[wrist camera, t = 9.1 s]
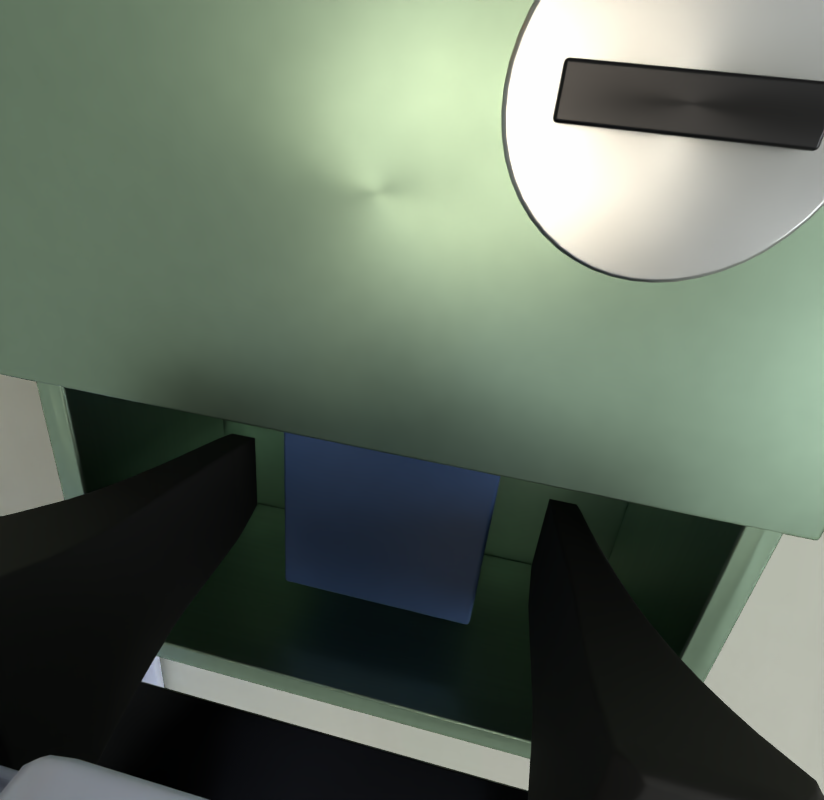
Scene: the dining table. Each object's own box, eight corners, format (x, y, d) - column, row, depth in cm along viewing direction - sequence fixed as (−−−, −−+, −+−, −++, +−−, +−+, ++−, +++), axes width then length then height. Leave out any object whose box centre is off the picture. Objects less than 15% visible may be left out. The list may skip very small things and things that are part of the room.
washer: (613, 584, 17) (652, 834, 11) (222, 496, 19) (72, 668, 13) (835, -16, 10) (1278, -237, 4) (181, -62, 12) (-190, -260, 6)
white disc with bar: (38, 172, 8) (-78, 182, 6) (-21, -117, 6) (-188, -191, 5) (752, 274, 7) (813, 317, 5) (883, -65, 5) (1024, -144, 4)
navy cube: (337, 488, 17) (284, 581, 13) (343, 350, 15) (282, 419, 11) (484, 519, 16) (468, 626, 13) (513, 381, 14) (503, 463, 11)
